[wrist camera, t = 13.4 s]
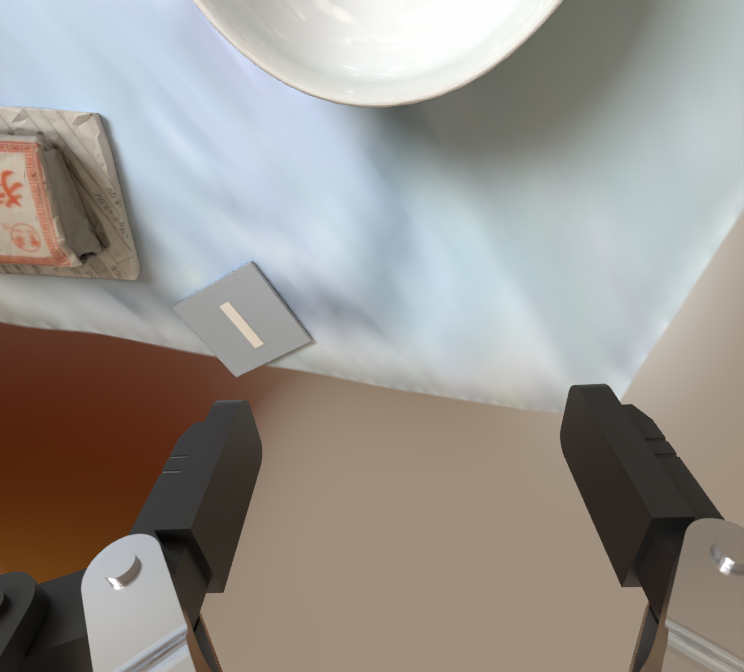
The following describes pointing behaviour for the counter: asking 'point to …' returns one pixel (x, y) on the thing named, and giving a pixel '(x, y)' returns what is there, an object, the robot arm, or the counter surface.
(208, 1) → the cereal bowl
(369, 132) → the counter surface
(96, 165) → the packaged product
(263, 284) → the tile
